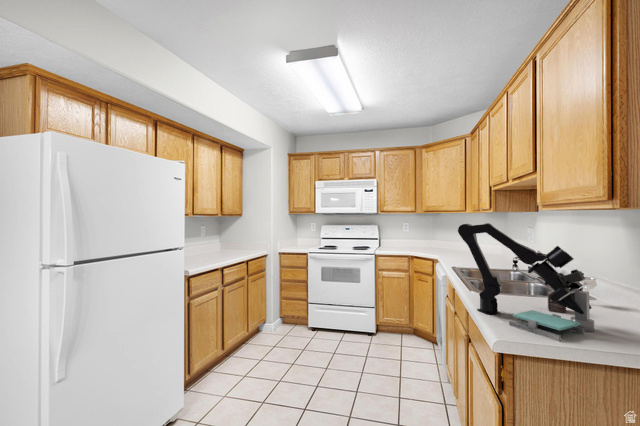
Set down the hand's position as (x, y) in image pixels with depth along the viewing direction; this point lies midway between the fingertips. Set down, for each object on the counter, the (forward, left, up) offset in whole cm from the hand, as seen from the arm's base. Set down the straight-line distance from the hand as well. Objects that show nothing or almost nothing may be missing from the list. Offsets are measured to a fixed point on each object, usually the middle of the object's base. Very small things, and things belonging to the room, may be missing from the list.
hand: (586, 311), depth 112 cm
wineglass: (-25, +33, -7) cm, 43 cm away
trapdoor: (-4, -14, -5) cm, 15 cm away
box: (-21, +11, -7) cm, 25 cm away
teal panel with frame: (-4, -14, -7) cm, 16 cm away
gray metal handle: (-1, -1, -7) cm, 7 cm away
